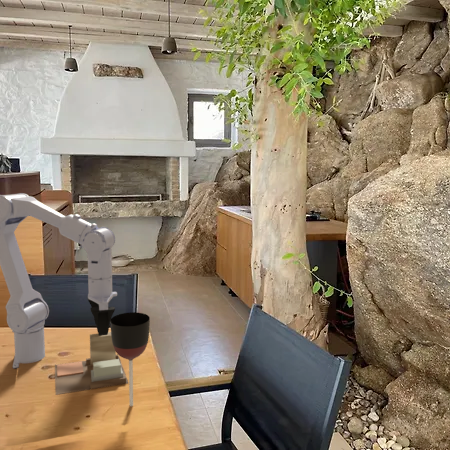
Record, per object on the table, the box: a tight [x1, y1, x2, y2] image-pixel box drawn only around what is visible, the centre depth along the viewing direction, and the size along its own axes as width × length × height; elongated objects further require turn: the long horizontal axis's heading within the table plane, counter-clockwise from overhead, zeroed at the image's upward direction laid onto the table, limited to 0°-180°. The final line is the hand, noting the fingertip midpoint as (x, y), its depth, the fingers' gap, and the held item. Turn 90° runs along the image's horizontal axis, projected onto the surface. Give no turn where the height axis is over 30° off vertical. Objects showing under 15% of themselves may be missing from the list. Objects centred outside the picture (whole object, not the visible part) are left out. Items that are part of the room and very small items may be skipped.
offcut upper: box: [93, 359, 121, 377], centre depth 107 cm, size 4×6×2 cm, turn 111°
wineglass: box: [110, 311, 151, 407], centre depth 95 cm, size 8×9×20 cm
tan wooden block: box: [89, 331, 117, 365], centre depth 114 cm, size 2×6×8 cm, turn 111°
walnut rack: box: [54, 354, 129, 396], centre depth 110 cm, size 16×16×2 cm
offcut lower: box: [91, 368, 123, 382], centre depth 107 cm, size 4×7×2 cm, turn 111°
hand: (101, 329), depth 114 cm, fingers open, 7 cm apart
